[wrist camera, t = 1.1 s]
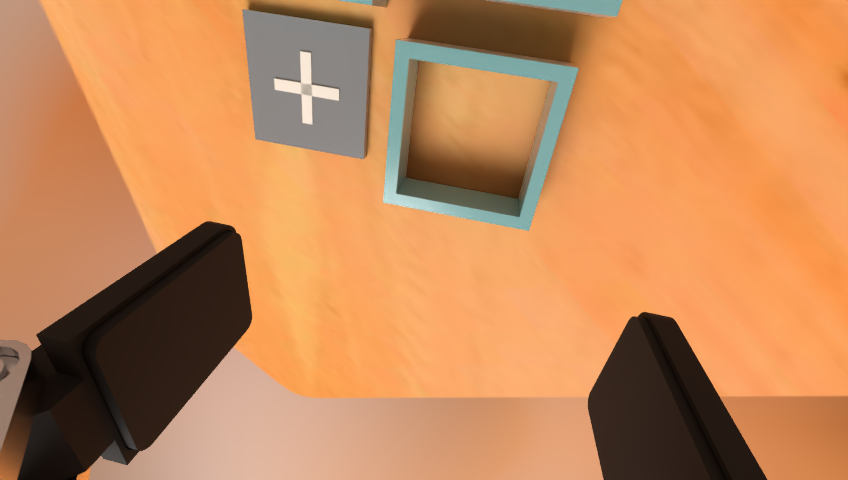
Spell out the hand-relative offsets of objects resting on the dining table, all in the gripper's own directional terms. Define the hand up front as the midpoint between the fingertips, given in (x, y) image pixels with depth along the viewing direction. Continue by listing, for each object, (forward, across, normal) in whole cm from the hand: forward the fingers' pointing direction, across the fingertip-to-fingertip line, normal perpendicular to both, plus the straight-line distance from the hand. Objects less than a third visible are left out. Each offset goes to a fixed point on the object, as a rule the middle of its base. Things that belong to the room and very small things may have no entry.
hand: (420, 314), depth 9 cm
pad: (+18, +11, -1) cm, 21 cm away
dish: (+18, 0, 0) cm, 18 cm away
